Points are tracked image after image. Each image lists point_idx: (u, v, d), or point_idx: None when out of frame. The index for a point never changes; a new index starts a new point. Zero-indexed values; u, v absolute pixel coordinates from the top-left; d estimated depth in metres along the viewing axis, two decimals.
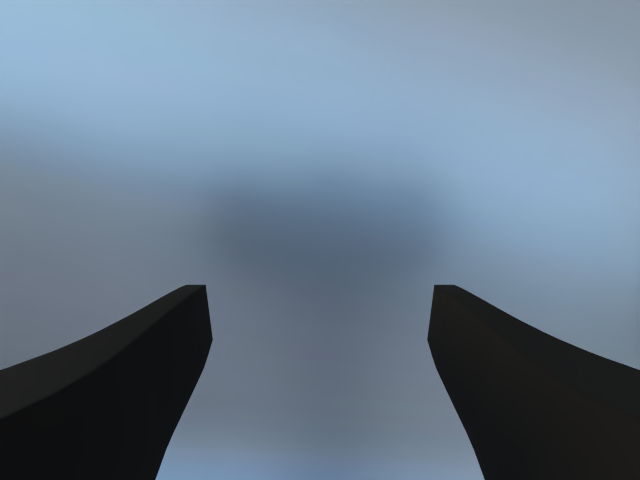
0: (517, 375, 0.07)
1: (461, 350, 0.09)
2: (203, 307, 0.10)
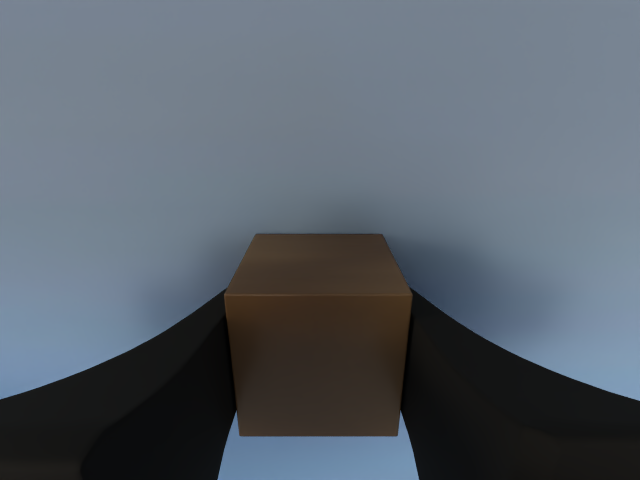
0: (439, 375, 0.07)
1: None
2: None
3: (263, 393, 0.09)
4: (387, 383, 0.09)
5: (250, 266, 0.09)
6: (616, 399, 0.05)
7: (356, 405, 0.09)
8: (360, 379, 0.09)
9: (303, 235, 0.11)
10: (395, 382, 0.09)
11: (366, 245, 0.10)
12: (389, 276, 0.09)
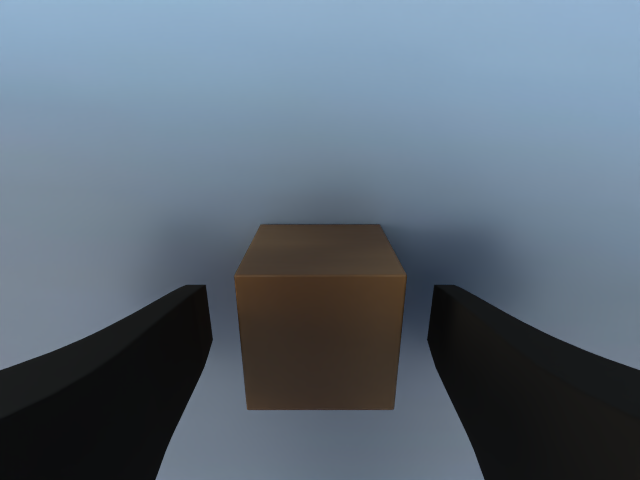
0: (517, 375, 0.07)
1: (461, 350, 0.09)
2: (203, 307, 0.10)
3: (270, 369, 0.09)
4: (384, 358, 0.09)
5: (257, 252, 0.10)
6: None
7: (355, 380, 0.10)
8: (359, 355, 0.09)
9: (305, 225, 0.12)
10: (390, 358, 0.09)
11: (365, 234, 0.11)
12: (386, 260, 0.09)
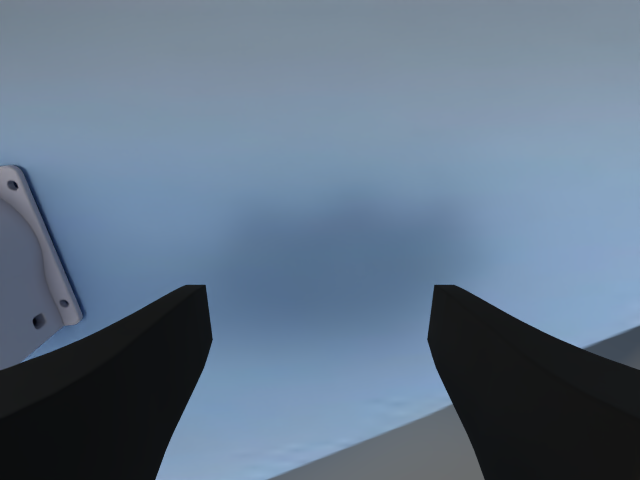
0: (517, 375, 0.07)
1: (461, 350, 0.09)
2: (203, 307, 0.10)
3: None
4: None
5: None
6: None
7: None
8: None
9: None
10: None
11: None
12: None
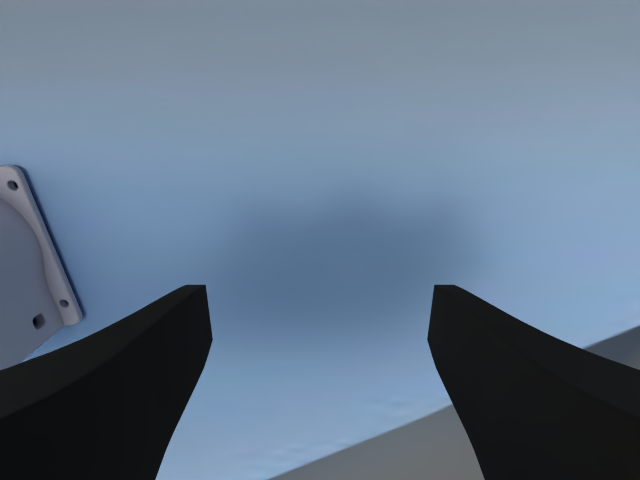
0: (517, 375, 0.07)
1: (461, 350, 0.09)
2: (203, 307, 0.10)
3: None
4: None
5: None
6: None
7: None
8: None
9: None
10: None
11: None
12: None
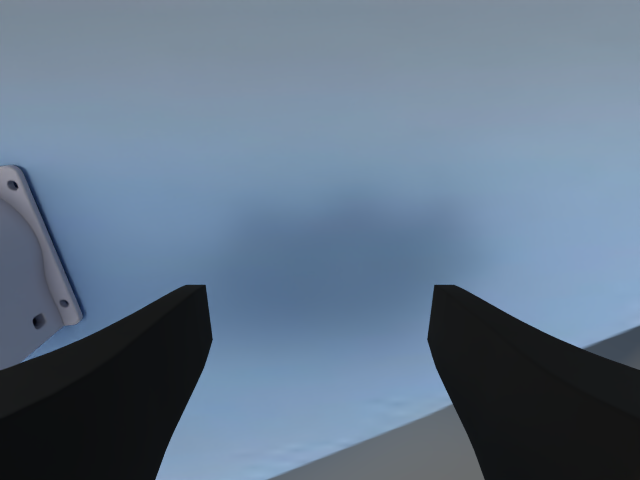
0: (517, 375, 0.07)
1: (461, 350, 0.09)
2: (203, 307, 0.10)
3: None
4: None
5: None
6: None
7: None
8: None
9: None
10: None
11: None
12: None
